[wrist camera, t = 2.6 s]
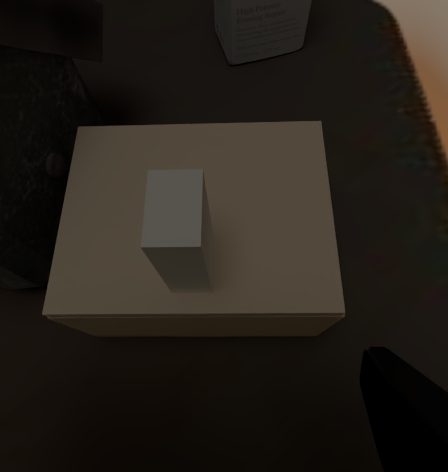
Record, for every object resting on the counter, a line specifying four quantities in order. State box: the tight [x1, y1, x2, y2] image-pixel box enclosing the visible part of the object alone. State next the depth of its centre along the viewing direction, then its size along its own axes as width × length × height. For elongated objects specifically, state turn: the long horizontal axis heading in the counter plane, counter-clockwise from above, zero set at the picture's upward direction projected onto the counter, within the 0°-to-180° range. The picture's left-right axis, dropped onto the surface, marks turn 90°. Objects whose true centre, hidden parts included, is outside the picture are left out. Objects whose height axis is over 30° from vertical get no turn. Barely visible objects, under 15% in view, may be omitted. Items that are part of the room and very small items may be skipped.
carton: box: [47, 313, 345, 337], centre depth 19 cm, size 9×12×6 cm
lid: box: [42, 121, 345, 317], centre depth 14 cm, size 9×12×6 cm
